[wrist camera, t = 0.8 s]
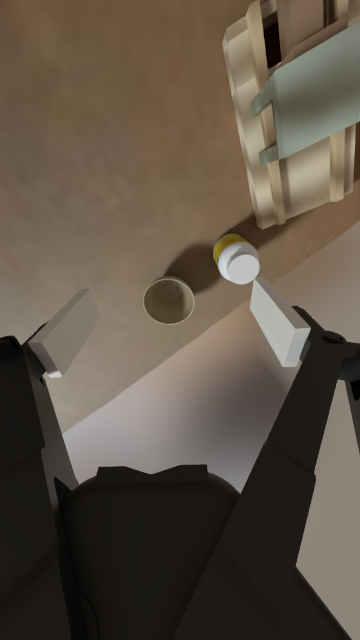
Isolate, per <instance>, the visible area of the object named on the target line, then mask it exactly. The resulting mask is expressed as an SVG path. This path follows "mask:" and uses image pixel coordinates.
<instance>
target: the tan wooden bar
mask: <svg viewBox="0 0 360 640" xmlns="http://www.w3.org/2000/svg"><path fill="white" fill-rule="evenodd" d="M276 3H277V14H278V25H279V36H280V47H281V58H282V62H281V64H280V65H279V66H278V68H277V69H279V68H281V67H282V66H284V65H286V64H287V63H289V62H291V61H292V60H294V59H296V58H297V57H299V56H301V55H303V54H304V53H306V52H308V51H309V50H311V49H313V48H314V47H316V46H318V45H319V44H321V43H323V42H325V41H326V40H328V39H330V38H331V37H333V36H335V35H336V34H338V33H340V32H341V31H343V30H345V29H347V15H346V16H344V17H343V18H341V19H340V20H338V21H336V22H335V23H333V24H331V25H330V26H328V27H326V28H325V29H324V28H323V0H276ZM277 69H276V70H277ZM276 70H275V71H276Z"/></svg>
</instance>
